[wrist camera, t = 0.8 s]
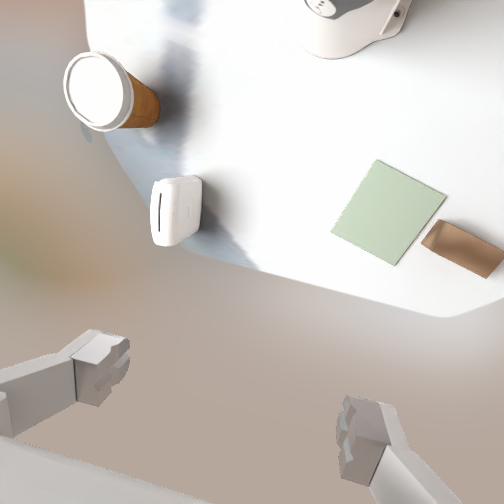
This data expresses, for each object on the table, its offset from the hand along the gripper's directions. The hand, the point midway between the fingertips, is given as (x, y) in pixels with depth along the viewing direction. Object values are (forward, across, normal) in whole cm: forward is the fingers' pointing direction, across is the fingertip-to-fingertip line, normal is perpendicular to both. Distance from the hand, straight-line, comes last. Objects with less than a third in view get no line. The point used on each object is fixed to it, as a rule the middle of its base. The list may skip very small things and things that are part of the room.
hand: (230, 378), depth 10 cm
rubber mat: (+41, -15, -2) cm, 43 cm away
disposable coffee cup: (+41, +28, -12) cm, 51 cm away
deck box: (+41, -27, +1) cm, 49 cm away
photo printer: (+41, +18, +2) cm, 45 cm away
